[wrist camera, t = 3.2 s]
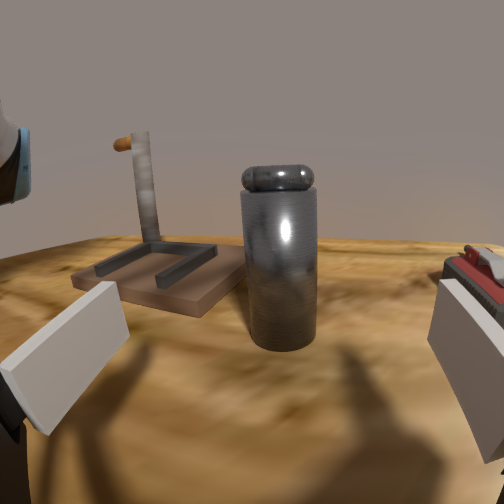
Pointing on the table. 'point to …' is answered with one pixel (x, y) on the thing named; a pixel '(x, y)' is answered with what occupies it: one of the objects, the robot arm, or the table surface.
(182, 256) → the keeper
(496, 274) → the walkie-talkie
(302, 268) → the grey metal canister
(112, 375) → the table surface
